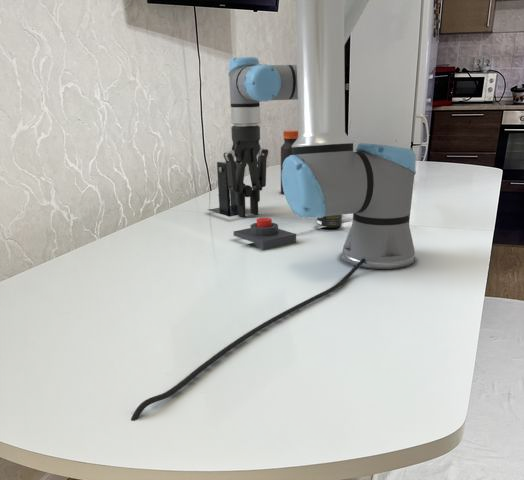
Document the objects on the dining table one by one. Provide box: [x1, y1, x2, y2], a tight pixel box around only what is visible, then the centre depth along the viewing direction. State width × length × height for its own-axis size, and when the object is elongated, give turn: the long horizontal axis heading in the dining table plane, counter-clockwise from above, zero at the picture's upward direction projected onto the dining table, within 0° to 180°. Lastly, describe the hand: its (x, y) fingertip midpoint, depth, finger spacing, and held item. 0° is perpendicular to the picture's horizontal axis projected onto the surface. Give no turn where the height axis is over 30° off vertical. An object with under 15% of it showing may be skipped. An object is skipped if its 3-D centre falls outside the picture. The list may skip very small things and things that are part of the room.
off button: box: [256, 217, 273, 227], centre depth 126 cm, size 4×4×2 cm
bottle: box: [280, 130, 299, 195], centre depth 179 cm, size 7×7×20 cm
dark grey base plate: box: [233, 222, 297, 251], centre depth 127 cm, size 12×10×4 cm
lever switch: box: [208, 160, 251, 218], centre depth 151 cm, size 12×9×15 cm
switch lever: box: [224, 161, 253, 198], centre depth 146 cm, size 13×3×3 cm
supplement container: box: [316, 215, 343, 231], centre depth 136 cm, size 7×7×10 cm
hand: (248, 214), depth 147 cm, fingers open, 4 cm apart
